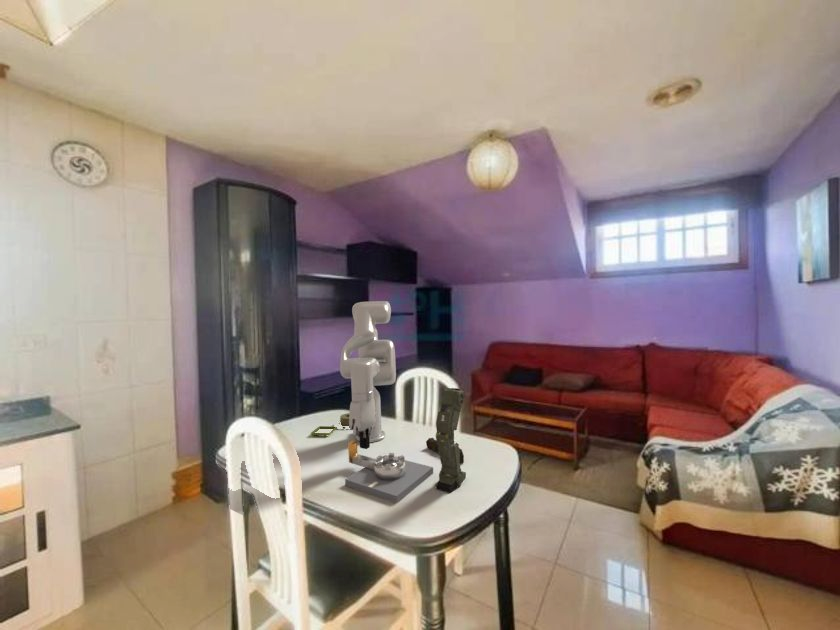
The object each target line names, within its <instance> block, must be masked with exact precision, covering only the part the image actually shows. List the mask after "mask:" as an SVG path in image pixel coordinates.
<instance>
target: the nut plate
mask: <svg viewBox="0 0 840 630" xmlns="http://www.w3.org/2000/svg"><path fill="white" fill-rule="evenodd" d="M383 457H389V455H386V454H384V456H383ZM404 460H405V462H406V473H405V475H404V476H402V477H401V478H398V479H395V480H381V479H378V478H377V477H375V473H374V470H373V469H370V468H366V467H363V468H362V469H360V470H358V471H357V472H355V473H353V474H351V475H349V476H348V477H346V478H345V480H344V483H345V485H344V486H345V487H348V488H350V489H354V490H357V491H360V492H363V493H366V494H368V495H372V496H375V497H377V498H381V499H384V500H385V501H386V500H387V501H390V502H392V503H395V504H398V503H399V502H401V501H402V500H403V499H404V498H406V496H408V495H409V494H410V493H411V492H412V491H414V490H416V488H417V487H419V485H421V484H422V483H424V482H425V480H427V479H428V478H429V477H431V476H432V475H433V474H434V467H433V466H430V465H426V464H422V463H418V462H414V461H410V460H407V459H404Z"/></svg>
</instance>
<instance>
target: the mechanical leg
mask: <svg viewBox="0 0 840 630" xmlns="http://www.w3.org/2000/svg"><path fill="white" fill-rule="evenodd" d="M442 395H443V396H442V399H441V406H440V411H437V414H436V415H437V416H436V422H435V424H436V426H435V427H436V428H435V429H436V433H435V440H436V441H437V445H438V450H439V452H438V454H439V460H440V464H441V467H440V468H441V469H440V471H439V474H438V479H439V480H438V482H436V486H435V490H438V491H441V492H444V493H449V494H452V492H453V491H455V490H456V489H457V488H458V487H461V485H462V483H463V481H464V480H465V479H466V478H467V477H466V475H467V472H465V471H462V468H461V465H460V463H461V462H460V449H461V448H460V447H459V446H460V445H459V444H460V443H457V442H455V431H457V430H458V425H459V421H460V415H461V412H462V407H463V404H464V401H465V396H464V395H465V391H463V390H461V388H456V387H445V389H444V392H443V394H442Z"/></svg>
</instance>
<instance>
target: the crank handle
mask: <svg viewBox="0 0 840 630" xmlns="http://www.w3.org/2000/svg"><path fill="white" fill-rule="evenodd" d="M347 446H348V463H350V464H353V465H355V466H360V467H363V468H365V467H366V468H370V469H373V470H374V473H375V477H377V478H378V479H381V480H395V479H398V478H401V477H402V476H404V475H405V473H406V462H405V460H406V459H405V456H404V455H398V456H395V453H394V452H393V453H392V452H390V453H388V456H389V457H383V456H382V455H378V456H376V458H374V457H370V456H366V455H363V454H358V441H357V440H351V441H350V440H349V441H348V442H347Z"/></svg>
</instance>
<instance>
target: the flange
mask: <svg viewBox="0 0 840 630" xmlns="http://www.w3.org/2000/svg"><path fill="white" fill-rule="evenodd" d="M339 421H340V422H341V425H342V426H349V412H348V413H344V414H341V415H340V416H339Z"/></svg>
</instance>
